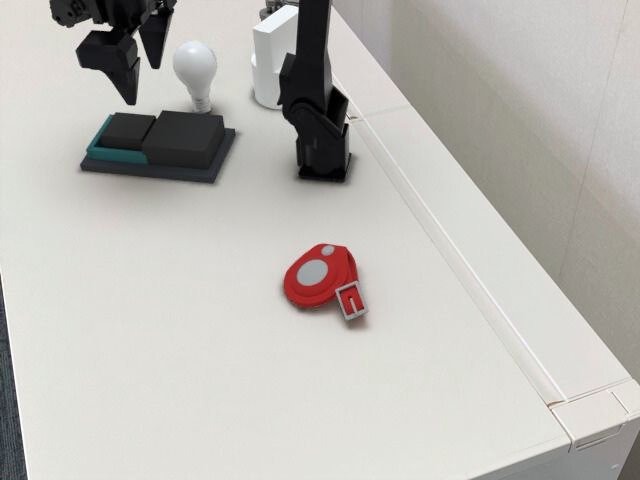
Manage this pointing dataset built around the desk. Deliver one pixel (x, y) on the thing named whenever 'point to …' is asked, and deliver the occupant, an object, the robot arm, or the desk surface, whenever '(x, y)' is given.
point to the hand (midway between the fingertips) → (144, 86)
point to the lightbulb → (196, 71)
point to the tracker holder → (326, 280)
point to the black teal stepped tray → (168, 149)
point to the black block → (127, 131)
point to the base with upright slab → (273, 53)
